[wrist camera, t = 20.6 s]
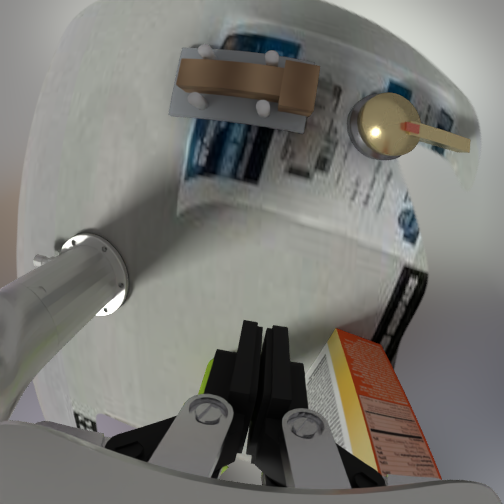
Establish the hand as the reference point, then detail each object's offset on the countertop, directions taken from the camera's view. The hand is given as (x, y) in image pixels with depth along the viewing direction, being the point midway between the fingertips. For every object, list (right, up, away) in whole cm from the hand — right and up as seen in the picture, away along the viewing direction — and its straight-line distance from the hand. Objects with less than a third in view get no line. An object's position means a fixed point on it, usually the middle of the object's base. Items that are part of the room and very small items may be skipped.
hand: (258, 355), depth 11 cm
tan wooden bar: (-1, +23, +20) cm, 31 cm away
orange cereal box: (+11, -18, +33) cm, 39 cm away
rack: (-1, +23, +22) cm, 32 cm away
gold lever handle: (+18, +18, +19) cm, 32 cm away
